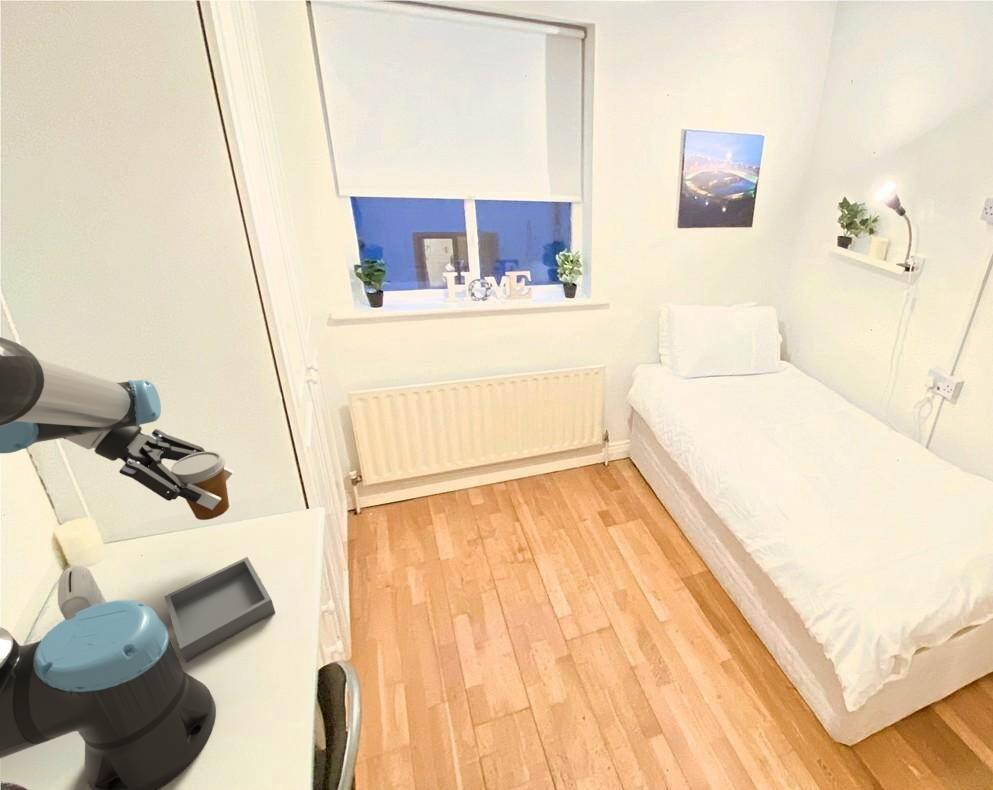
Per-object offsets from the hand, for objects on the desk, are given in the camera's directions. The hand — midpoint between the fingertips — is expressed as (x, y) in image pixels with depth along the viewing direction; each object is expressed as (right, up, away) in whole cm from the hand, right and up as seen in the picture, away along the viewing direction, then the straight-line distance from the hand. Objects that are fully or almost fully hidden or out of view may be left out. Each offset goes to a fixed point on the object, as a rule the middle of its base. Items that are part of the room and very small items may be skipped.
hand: (223, 489), depth 95 cm
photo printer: (-16, -23, -11) cm, 31 cm away
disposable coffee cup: (-3, -5, +1) cm, 6 cm away
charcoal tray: (+5, -21, -9) cm, 24 cm away
